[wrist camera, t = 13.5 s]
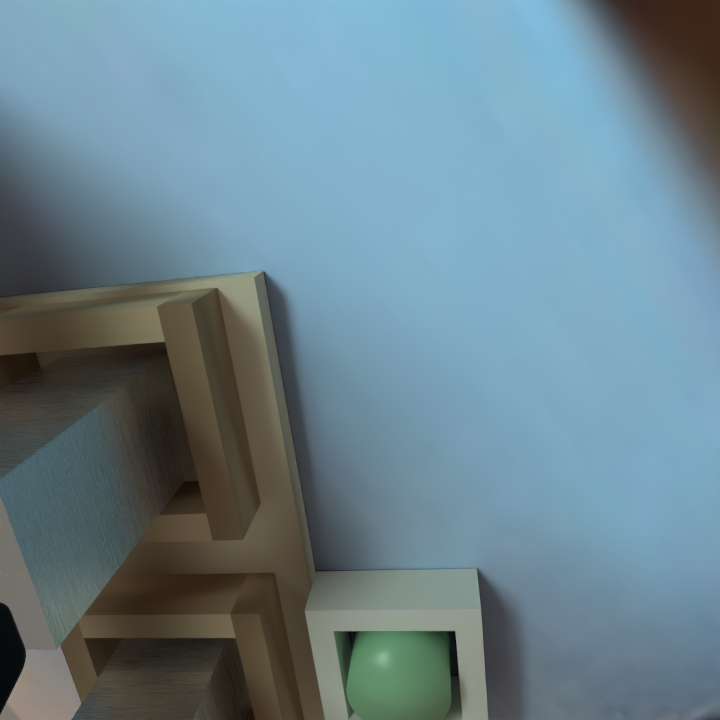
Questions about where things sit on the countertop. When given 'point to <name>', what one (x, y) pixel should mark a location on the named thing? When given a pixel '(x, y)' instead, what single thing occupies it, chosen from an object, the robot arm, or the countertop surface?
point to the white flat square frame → (396, 627)
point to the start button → (400, 675)
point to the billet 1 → (82, 480)
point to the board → (197, 480)
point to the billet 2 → (170, 682)
